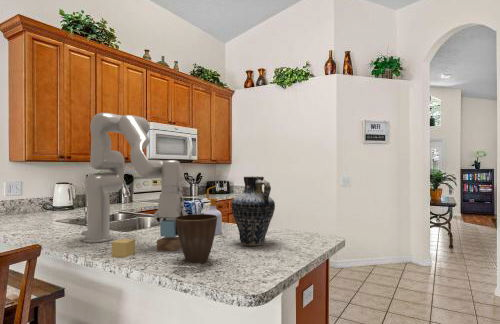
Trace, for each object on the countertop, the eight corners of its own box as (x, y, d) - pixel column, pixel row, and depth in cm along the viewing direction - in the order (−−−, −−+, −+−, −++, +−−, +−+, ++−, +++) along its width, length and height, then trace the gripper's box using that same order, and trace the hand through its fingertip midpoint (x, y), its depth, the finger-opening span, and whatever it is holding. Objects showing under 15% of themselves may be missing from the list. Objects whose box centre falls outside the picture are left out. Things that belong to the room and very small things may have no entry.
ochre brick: (111, 258, 121) (111, 242, 121) (121, 254, 127) (121, 238, 127) (125, 259, 119) (125, 242, 119) (135, 255, 125) (135, 239, 125)
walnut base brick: (156, 250, 130) (156, 240, 130) (166, 245, 137) (166, 236, 137) (175, 251, 128) (175, 241, 128) (183, 246, 135) (183, 237, 135)
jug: (222, 243, 143) (221, 176, 144) (252, 237, 157) (252, 175, 157) (255, 252, 128) (255, 176, 129) (286, 244, 142) (285, 176, 143)
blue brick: (167, 233, 136) (167, 219, 136) (180, 234, 135) (180, 219, 135) (160, 236, 130) (160, 221, 130) (174, 237, 129) (174, 222, 129)
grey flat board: (143, 252, 129) (143, 250, 129) (158, 245, 140) (158, 243, 140) (184, 255, 124) (184, 253, 124) (196, 247, 136) (196, 246, 136)
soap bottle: (220, 235, 162) (220, 186, 162) (202, 235, 162) (202, 186, 162) (222, 231, 171) (222, 185, 171) (205, 231, 171) (205, 185, 171)
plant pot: (179, 270, 106) (179, 221, 106) (171, 258, 120) (171, 215, 120) (222, 264, 112) (222, 218, 112) (210, 254, 126) (210, 213, 126)
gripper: (193, 189, 135) (194, 233, 134) (156, 189, 139) (156, 231, 138) (186, 191, 127) (186, 236, 127) (147, 190, 131) (147, 234, 131)
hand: (170, 233), depth 133 cm, fingers closed on blue brick, 6 cm apart
